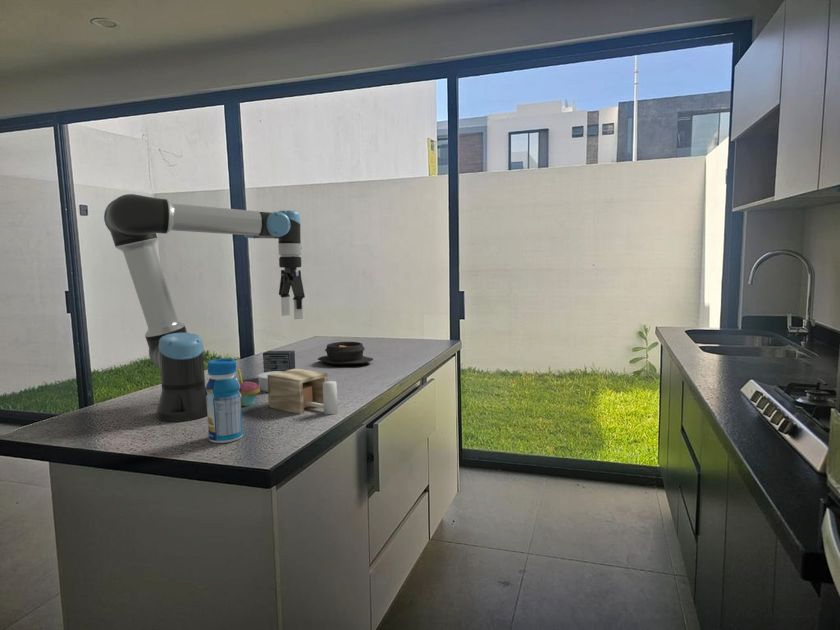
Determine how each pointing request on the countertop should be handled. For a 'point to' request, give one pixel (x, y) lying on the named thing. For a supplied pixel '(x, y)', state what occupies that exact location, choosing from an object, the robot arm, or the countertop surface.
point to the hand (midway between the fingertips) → (291, 317)
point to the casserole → (345, 353)
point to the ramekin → (265, 380)
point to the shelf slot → (294, 389)
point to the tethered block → (328, 397)
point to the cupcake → (248, 391)
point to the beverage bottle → (223, 402)
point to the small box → (278, 360)
